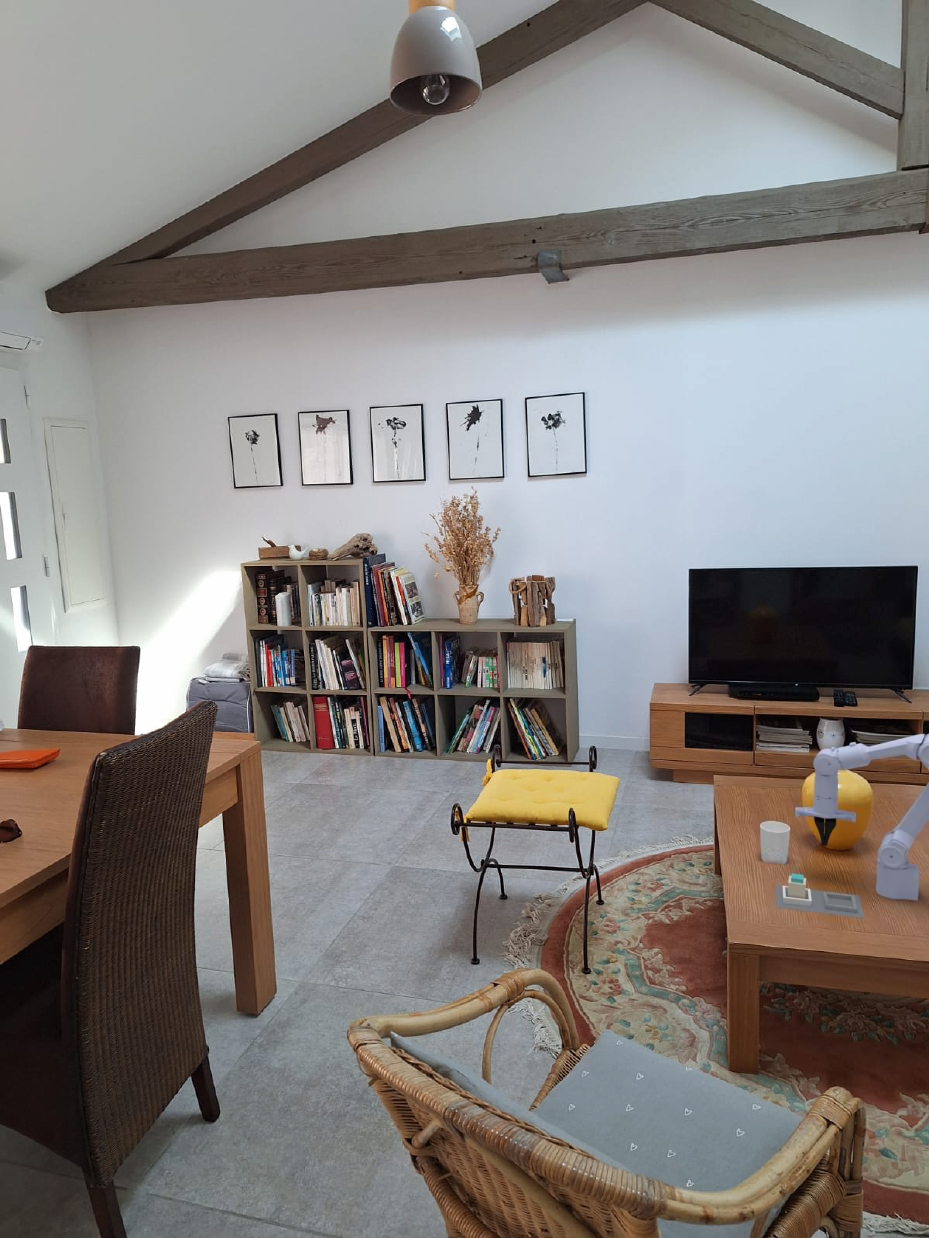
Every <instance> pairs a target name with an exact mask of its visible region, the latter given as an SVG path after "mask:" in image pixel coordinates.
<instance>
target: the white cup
mask: <svg viewBox="0 0 929 1238" xmlns="http://www.w3.org/2000/svg"><path fill="white" fill-rule="evenodd" d="M759 830H760V831H759V832H760V834H759V836H760V837H759V838H760V850H761V851H760V852H761V853H760V855H761V856H760V858H761V860H762V862H764V863H770V864H771V863H772V864H779V865H780V864H781V865H785V864H787V862H788V854H789V846H790V833H791V827H790V826H789V825H788V824H786V823H784V822H781V821H780V822H779V821H776V820H773V821H772V820H768V821H763V822H761V823H760V825H759Z"/></svg>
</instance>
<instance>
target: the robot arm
mask: <svg viewBox="0 0 929 1238" xmlns="http://www.w3.org/2000/svg"><path fill="white" fill-rule="evenodd" d="M898 756H899V757H900V756H907V757H908V758H910V759H912V760H913V761H917V759H919V761H920V762H921V763H922V764H923V766H925V768H927V770H928V771H929V733H928V734H925V733H920V734H915V735H912V736H907V737H903V738H899V739H895V740H890V741H886V742H882V743H880V744H878V743H877V744H874V745H870V746H867V745H865V744H863V743H856V741H854V742H850V743H849V745H846V746H841V747H836V746H832V747H831V748H823V749H821V750H820V751H819V752H818V753H817V754H816V756H815V757H814V759H813V763H812V764H813V768H814V774H815V776H814V783H813V784H814V785H813V806H809V807H808V806H806V807H805V806H804V807H798V806H796V807H795V809H794V810H795V811H794V814H795V818H796V817H797V818H800V817H806V818H813V822H814V825H815V826H816V828H817V829H816V830H817V831H818V834H819V837H820V844H821V846H822V847H823V846H824V847H827V846H828V843H829V839H830V837H831V835H832V833H833V831H834V829H835V828H836V827H837V823H838V822H837V820H839V821H849V822H851V823H856V820H857V814H856V812H853V811H848V810H843V809H838V798H839V796H838V794H839V777H838V776H839V771H846V770H851V769H857V768H862V767H867V766H868V765H870V763H871V761H872V760H877V759H885V758H893V757H898ZM927 822H929V782H928V783H927V784H926V786H925V787H924V789H923V790H922V791H921V792H920V794H919V795H918V797H917V798H916V799H915V801H914V802H913V804H912V805H911V807H910V808H909V809H908V811H907V812H906V813H905V814H904V816H903V818H902V819H901V820H900V822H899V823H898V824H897V825H896V826H895V828H893V830H891V831H889V832H887V833H886V834H884V836H883V837H882V841H881V845H880V847H879V848H878V852H877V861H876V862H877V866H876V884H875V885H876V886H875V888H876V889H875V891H876V893H877V894H879V895H880V896H882V897H883V898H888V899H892V900H907V901H919V890H920V889H919V887H920V886H919V885H920V872H919V867H918V865H917V864H913V863H910V861H909V860H908V857H907V855H908V852H909V850H910V849H911V848H912V845H913V843H914V841H915V839H917V838H916V837H917V836H918V835H919V834H920V833H921V831H922V830H923V828H924V827H925V826H926V824H927Z"/></svg>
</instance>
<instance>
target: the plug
mask: <svg viewBox="0 0 929 1238" xmlns="http://www.w3.org/2000/svg"><path fill="white" fill-rule="evenodd" d="M804 876H805V875H804V874H797V873H794V872H793V873H791V875H788V881H787V882H788V883H787V886H788V897H792V898H800V899H805V897H806V889H807V878H806V877H804Z"/></svg>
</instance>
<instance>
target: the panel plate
mask: <svg viewBox="0 0 929 1238" xmlns="http://www.w3.org/2000/svg"><path fill="white" fill-rule="evenodd" d="M783 886H784V885H781V886H780V885H775V887H774V888H775V890H774V893H775V908H776V909H777V908H778V909H785V910H793V911H800V912H801V911H802V912H808V913H809V912H810V913H815V914H816V913H818V914H825V915H832V916H840V917H847V918H848V917H849V918H856V919H865V915H864V911H863V906H862V902H861V898H860V895H857V894H853V895H854V897H855V901H856V906H857V913H854V912H846V911H838V910H830V909H825V905H824V898H823V892H826V891H825V890H824V891H823V890H816V889H815V890H814V889H810V891H811V900H812V906H811V907H810V906H802V905H794V904H786V903H783V892H782V889H783ZM828 892H829V893H835V892H831V891H828ZM837 893H838V894H843V893H841V892H837ZM845 894H846V895H852V894H850V893H845ZM786 897H788V893H786ZM827 898H828V897H827ZM805 899H808V895H806V897H805ZM828 904H832V905H840V906H849V907H852V903H851V900H845V899H836V898H828Z"/></svg>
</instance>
